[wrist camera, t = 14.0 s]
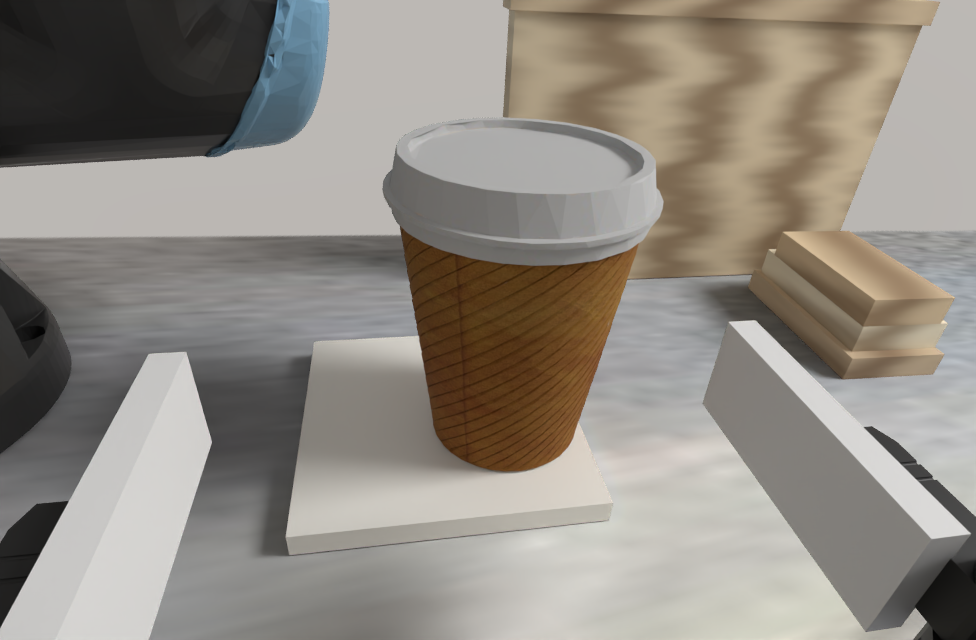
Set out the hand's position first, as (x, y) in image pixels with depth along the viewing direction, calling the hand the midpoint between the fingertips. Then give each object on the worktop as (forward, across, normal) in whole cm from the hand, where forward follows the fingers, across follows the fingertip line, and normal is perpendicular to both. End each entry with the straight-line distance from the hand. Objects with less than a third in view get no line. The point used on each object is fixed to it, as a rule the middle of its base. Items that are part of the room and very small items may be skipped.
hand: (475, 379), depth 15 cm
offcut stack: (+15, +25, -10) cm, 30 cm away
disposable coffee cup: (+8, +3, -9) cm, 12 cm away
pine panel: (+22, +17, -9) cm, 30 cm away
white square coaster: (+9, 0, -10) cm, 13 cm away
